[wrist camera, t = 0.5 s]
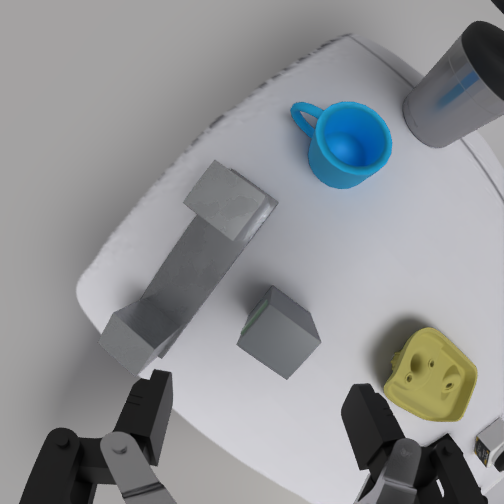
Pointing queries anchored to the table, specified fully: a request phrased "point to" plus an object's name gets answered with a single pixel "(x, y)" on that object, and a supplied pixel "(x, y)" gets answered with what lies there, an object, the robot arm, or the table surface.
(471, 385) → the plastic component
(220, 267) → the rail
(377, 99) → the table surface
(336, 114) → the mug
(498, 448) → the medicine bottle
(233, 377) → the table surface
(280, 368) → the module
